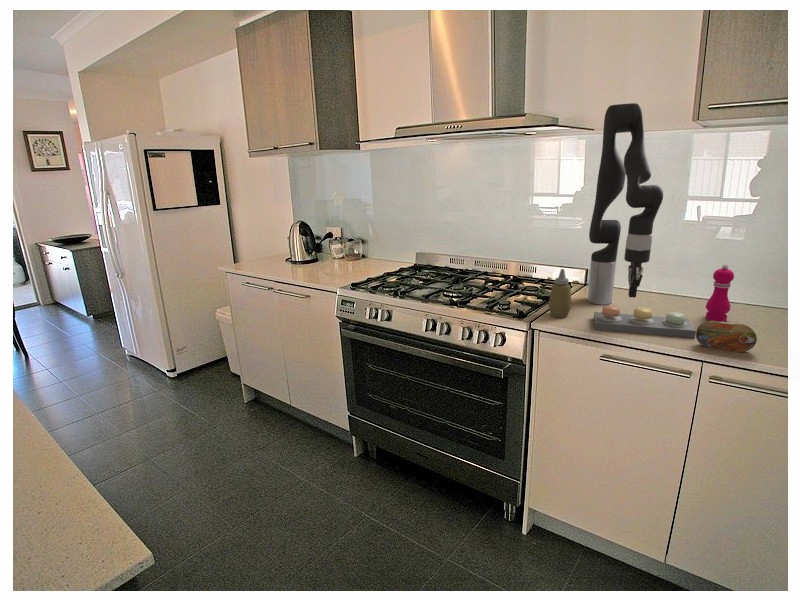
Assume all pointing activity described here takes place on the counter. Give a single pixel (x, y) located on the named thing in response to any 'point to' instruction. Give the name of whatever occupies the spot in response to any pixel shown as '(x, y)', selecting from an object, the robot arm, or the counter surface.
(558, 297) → the squeeze bottle
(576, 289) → the counter surface
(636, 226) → the robot arm
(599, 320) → the button panel
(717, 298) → the pepper mill
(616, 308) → the terracotta button
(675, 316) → the sage button
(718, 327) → the tin
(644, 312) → the ochre button
